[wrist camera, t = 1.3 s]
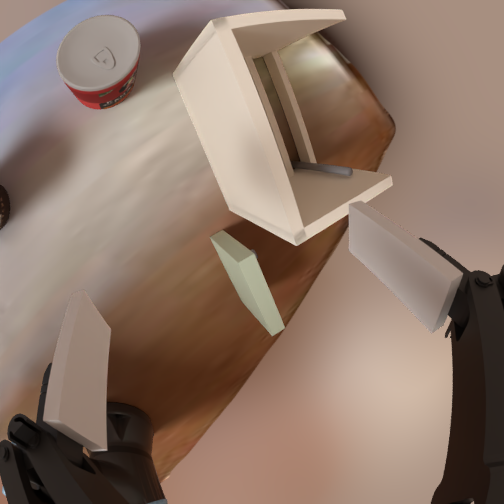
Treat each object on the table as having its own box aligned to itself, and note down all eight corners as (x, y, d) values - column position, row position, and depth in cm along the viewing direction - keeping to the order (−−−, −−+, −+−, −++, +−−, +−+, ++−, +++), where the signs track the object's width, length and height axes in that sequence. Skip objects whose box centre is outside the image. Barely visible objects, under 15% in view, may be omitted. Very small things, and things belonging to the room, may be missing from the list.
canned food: (110, 121, 27) (104, 104, 18) (62, 93, 23) (38, 68, 13) (148, 71, 26) (160, 37, 17) (100, 44, 22) (95, 3, 13)
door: (256, 291, 44) (290, 324, 35) (241, 301, 43) (272, 336, 35) (227, 226, 38) (260, 249, 30) (209, 236, 38) (238, 262, 29)
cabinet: (309, 170, 41) (392, 185, 27) (229, 210, 37) (296, 246, 24) (265, 48, 31) (342, 9, 18) (172, 74, 28) (211, 19, 14)
